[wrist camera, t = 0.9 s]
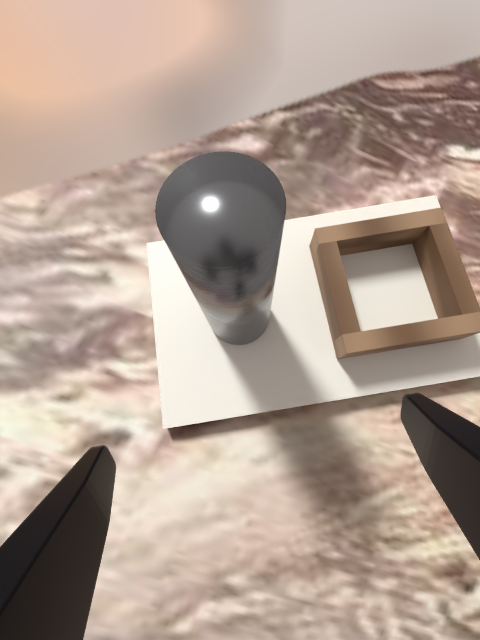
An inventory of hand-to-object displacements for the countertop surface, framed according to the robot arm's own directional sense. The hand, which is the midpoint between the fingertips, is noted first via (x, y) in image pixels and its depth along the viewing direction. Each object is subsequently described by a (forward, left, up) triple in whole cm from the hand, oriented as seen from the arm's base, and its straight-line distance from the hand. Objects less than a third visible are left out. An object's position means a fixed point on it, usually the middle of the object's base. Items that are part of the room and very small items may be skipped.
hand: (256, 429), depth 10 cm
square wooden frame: (+1, -13, -12) cm, 18 cm away
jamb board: (+3, -8, -13) cm, 16 cm away
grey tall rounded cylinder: (+6, -4, -12) cm, 14 cm away
